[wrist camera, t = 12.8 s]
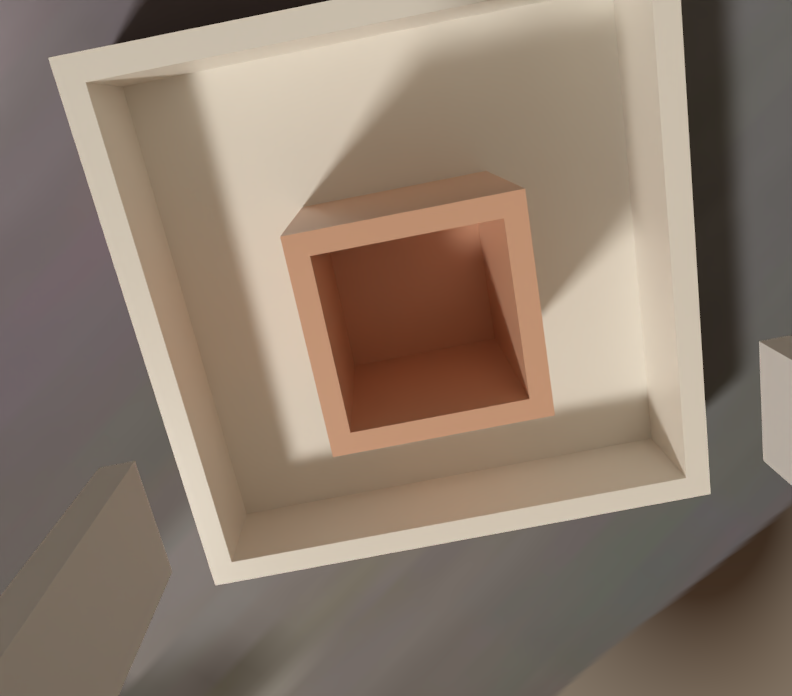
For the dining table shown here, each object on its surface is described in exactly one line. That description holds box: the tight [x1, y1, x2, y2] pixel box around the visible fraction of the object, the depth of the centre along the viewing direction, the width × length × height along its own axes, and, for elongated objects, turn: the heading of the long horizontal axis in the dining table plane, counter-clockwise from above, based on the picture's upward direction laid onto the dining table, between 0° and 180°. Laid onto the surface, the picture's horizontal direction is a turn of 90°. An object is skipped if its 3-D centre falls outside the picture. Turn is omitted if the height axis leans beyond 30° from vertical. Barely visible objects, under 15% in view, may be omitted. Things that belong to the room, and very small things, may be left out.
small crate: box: [280, 171, 555, 457], centre depth 28 cm, size 8×8×8 cm
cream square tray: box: [48, 0, 711, 585], centre depth 30 cm, size 22×22×5 cm
